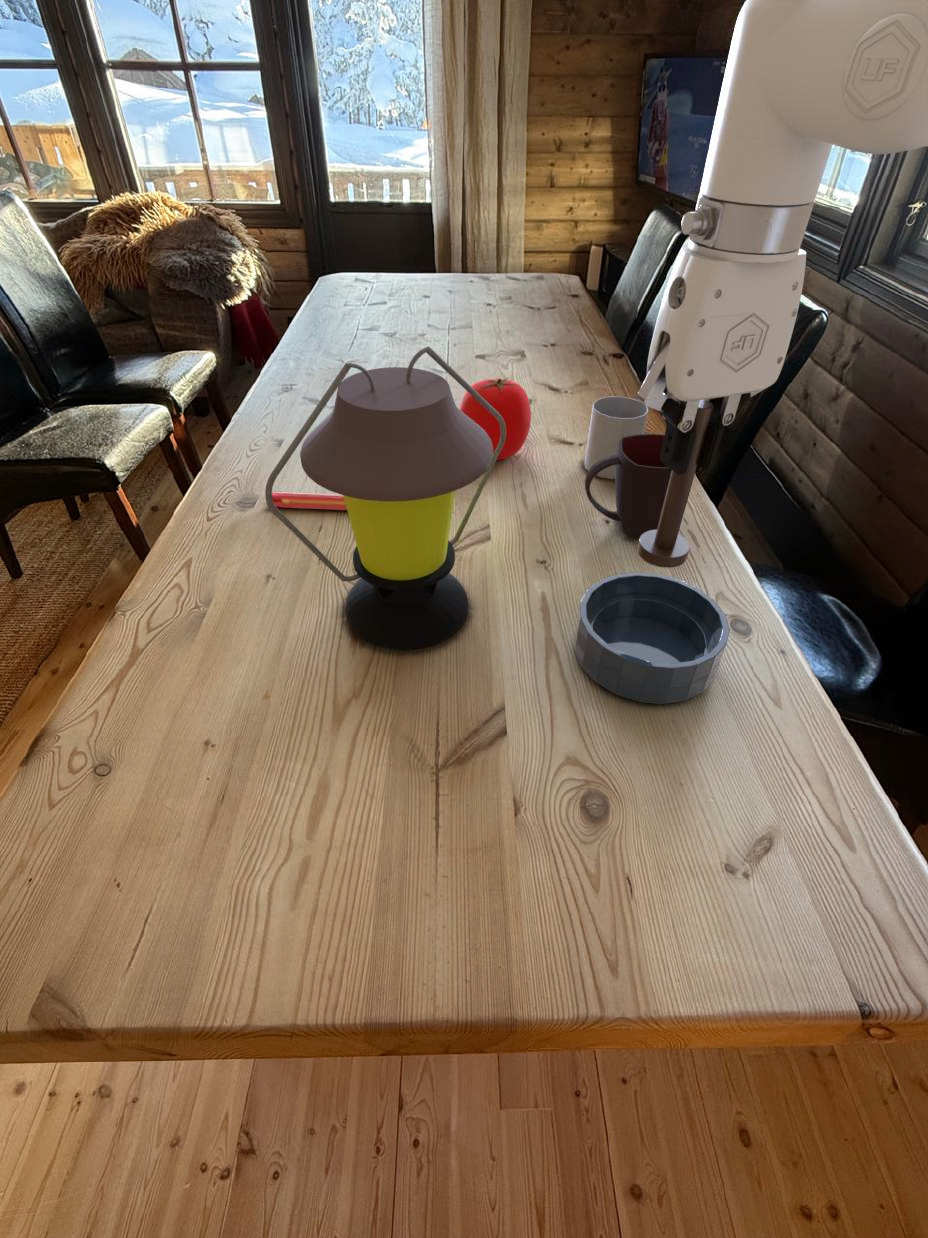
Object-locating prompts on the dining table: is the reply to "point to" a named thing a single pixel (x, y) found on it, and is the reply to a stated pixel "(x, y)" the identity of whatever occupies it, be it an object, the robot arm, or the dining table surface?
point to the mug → (635, 483)
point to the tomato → (508, 404)
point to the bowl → (650, 637)
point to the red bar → (309, 501)
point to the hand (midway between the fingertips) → (685, 463)
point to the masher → (675, 506)
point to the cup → (612, 428)
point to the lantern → (397, 495)
